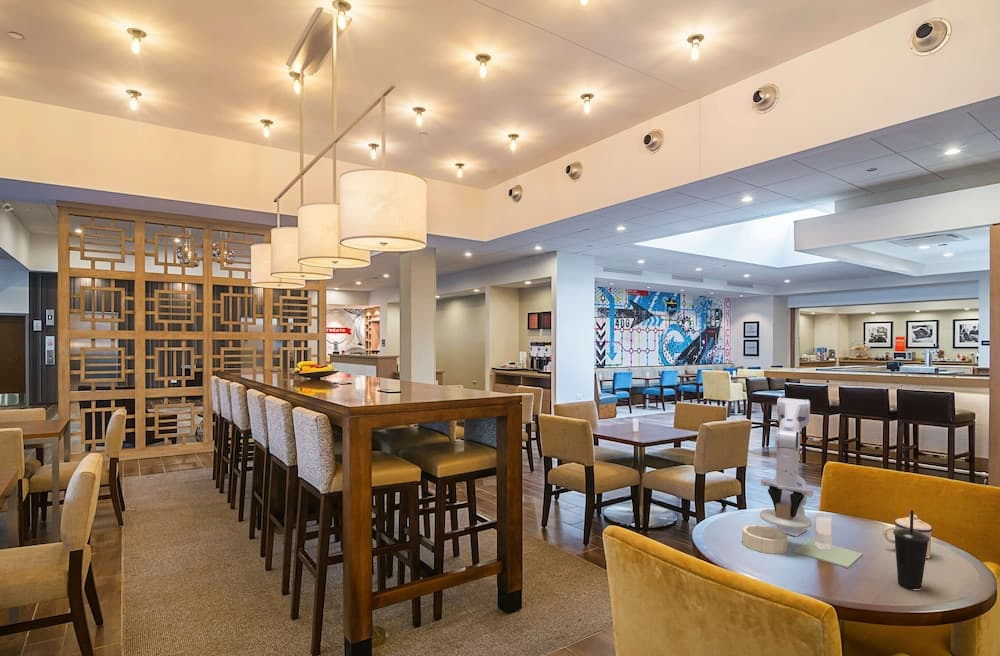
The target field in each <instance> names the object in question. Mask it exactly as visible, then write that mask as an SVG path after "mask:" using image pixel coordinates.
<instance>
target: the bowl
mask: <svg viewBox="0 0 1000 656" xmlns="http://www.w3.org/2000/svg"><path fill="white" fill-rule="evenodd" d="M787 535H788V534H786V533H784V532H782V531H780V530H778V529H775V528H773V527H771V526H767V525H759V524H751V525H749V524H747V525H745V526H742V531H741V541H743V542H742V545H743V544H744V545H743V546H745V547H746V548H748V549H750V550H753V551H755V552H759V553H764V554H771V555H779V554H785V553H786V552H787V551H788V540H789V539H788V536H787Z"/></svg>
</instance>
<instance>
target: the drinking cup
mask: <svg viewBox="0 0 1000 656" xmlns="http://www.w3.org/2000/svg"><path fill="white" fill-rule="evenodd" d="M914 512H915V510H913V509H910V513H909V515H910V529H897V530H893V532H892V533H893V535H894V541H895V544H894V548H895V547H896V550H895V558H896V573H897V584H898V586H900V587H901V588H903V587H904V589H906V588H907V589H906V590H909V589H920V588H921V589H922V585H923V577H924V573H925V564H926V560H927V559H926V553H927V546H928V542H929V541H930V538H929V537H928V536H926V535H924V534H923V533H921V532H919V531H916V530H913V517H914V515H915V513H914Z"/></svg>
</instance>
